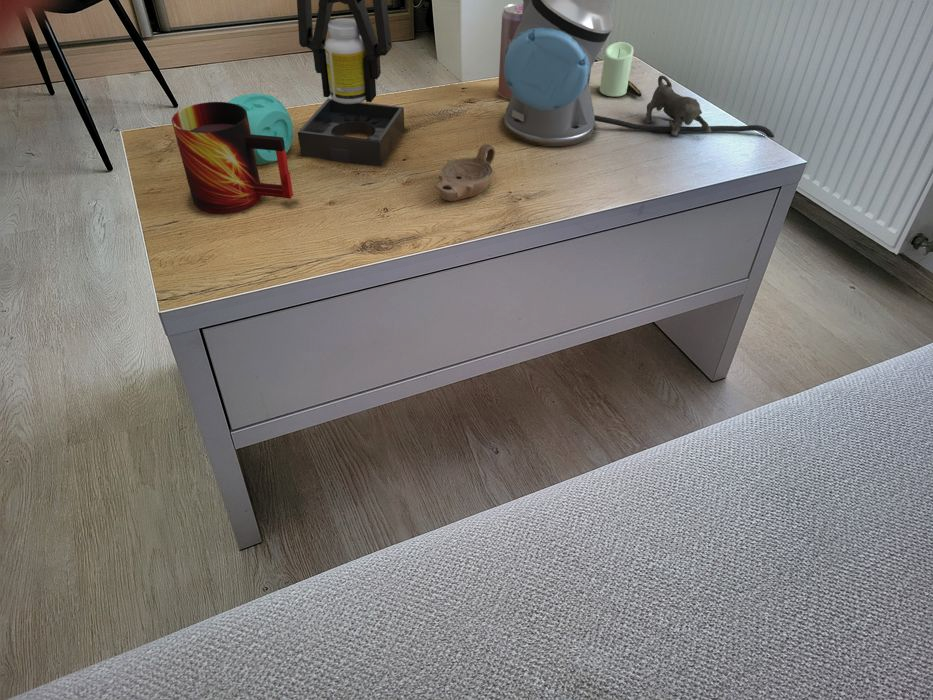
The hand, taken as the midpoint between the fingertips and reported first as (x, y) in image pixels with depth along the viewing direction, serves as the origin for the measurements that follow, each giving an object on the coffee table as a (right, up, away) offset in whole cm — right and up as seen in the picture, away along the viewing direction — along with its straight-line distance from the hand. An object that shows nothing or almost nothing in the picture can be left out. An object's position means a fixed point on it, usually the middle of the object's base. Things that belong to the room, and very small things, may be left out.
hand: (349, 95), depth 111 cm
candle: (+46, +9, +23) cm, 52 cm away
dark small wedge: (+49, +11, +25) cm, 56 cm away
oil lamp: (+18, -16, -5) cm, 25 cm away
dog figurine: (+54, -2, +12) cm, 55 cm away
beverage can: (+27, +8, +21) cm, 35 cm away
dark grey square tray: (0, -6, +5) cm, 8 cm away
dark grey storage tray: (0, -6, +5) cm, 8 cm away
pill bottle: (0, 0, 0) cm, 0 cm away
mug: (-14, -17, -8) cm, 24 cm away
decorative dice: (-14, -9, +1) cm, 17 cm away
